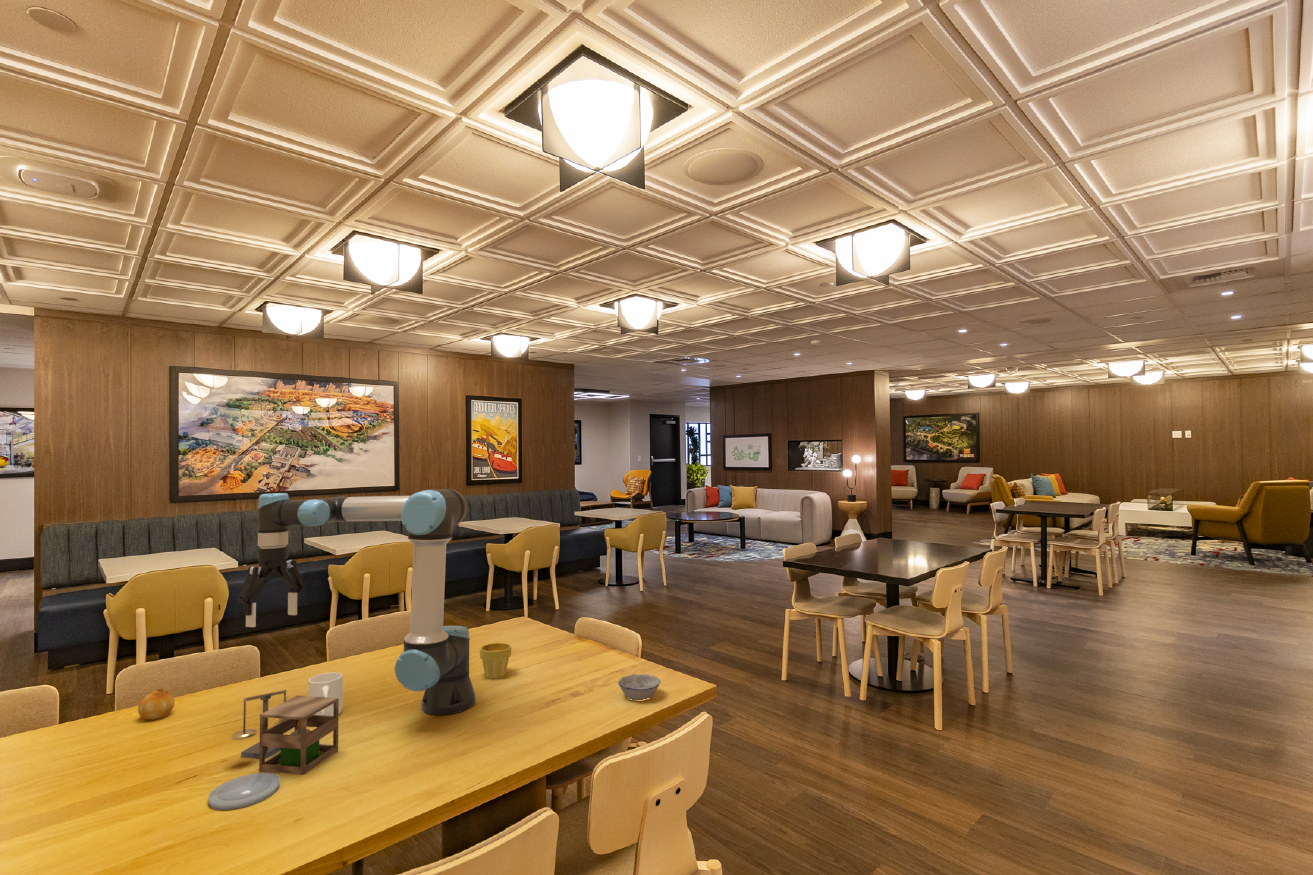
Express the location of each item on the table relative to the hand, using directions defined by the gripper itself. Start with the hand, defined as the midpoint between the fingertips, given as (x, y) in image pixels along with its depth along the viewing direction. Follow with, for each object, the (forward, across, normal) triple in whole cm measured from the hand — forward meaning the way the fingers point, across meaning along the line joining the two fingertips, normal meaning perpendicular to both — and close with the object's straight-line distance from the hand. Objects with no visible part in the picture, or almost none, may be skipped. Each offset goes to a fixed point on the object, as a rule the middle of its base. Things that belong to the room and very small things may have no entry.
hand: (272, 620), depth 176 cm
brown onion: (+27, +9, -32) cm, 43 cm away
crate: (+27, +19, +30) cm, 45 cm away
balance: (+27, +17, +17) cm, 37 cm away
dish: (+27, +34, +31) cm, 53 cm away
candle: (+28, +19, +30) cm, 45 cm away
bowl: (+28, -41, +98) cm, 110 cm away
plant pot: (+28, -46, +45) cm, 70 cm away
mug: (+28, -4, +16) cm, 32 cm away
